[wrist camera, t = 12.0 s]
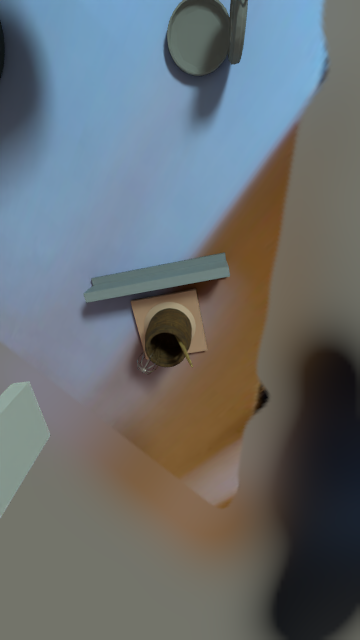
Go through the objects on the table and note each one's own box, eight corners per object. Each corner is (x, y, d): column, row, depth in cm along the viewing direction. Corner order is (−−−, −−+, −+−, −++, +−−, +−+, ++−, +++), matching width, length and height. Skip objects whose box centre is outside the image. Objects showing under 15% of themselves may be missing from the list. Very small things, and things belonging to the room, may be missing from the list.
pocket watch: (155, 29, 34) (138, -35, 24) (225, -31, 32) (236, -126, 22) (197, 105, 36) (196, 73, 27) (264, 53, 34) (289, -1, 25)
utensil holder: (142, 314, 44) (123, 354, 33) (185, 300, 43) (180, 336, 32) (158, 351, 46) (145, 400, 35) (200, 338, 45) (200, 385, 34)
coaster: (131, 299, 45) (130, 302, 44) (195, 288, 43) (195, 290, 43) (147, 357, 48) (146, 360, 47) (207, 347, 46) (207, 350, 46)
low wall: (92, 278, 44) (81, 286, 40) (224, 252, 41) (227, 258, 37) (98, 298, 45) (88, 309, 41) (228, 275, 43) (231, 283, 38)
